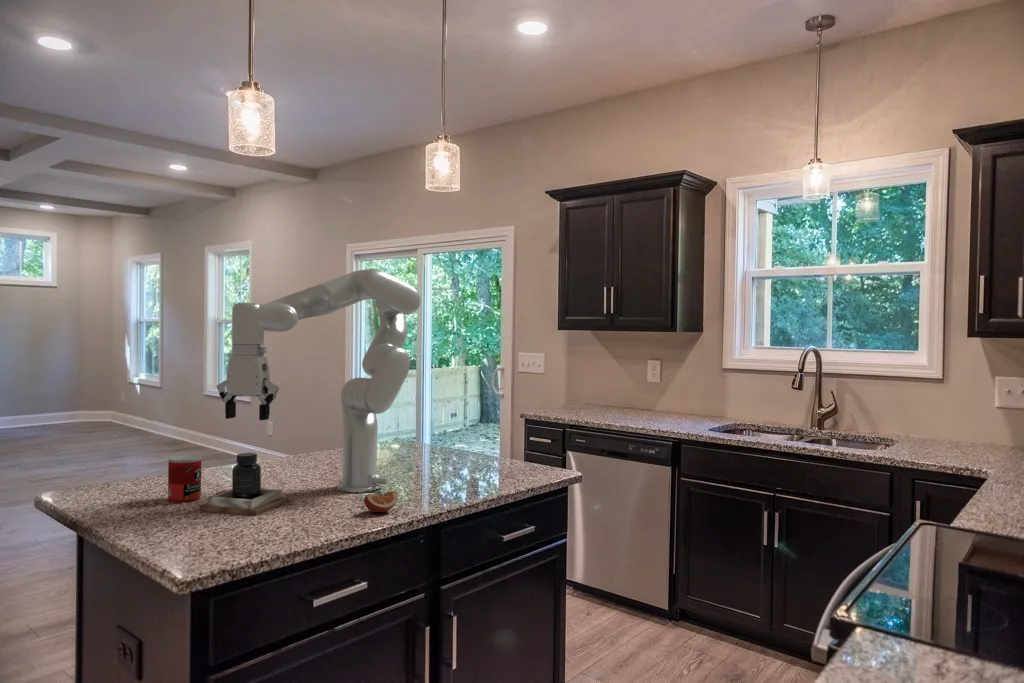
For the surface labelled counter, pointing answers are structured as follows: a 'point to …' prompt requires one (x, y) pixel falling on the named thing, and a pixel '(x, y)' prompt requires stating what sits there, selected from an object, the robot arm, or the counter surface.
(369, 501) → the fruit slice
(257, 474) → the supplement bottle
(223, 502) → the pocket board
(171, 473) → the canned food
